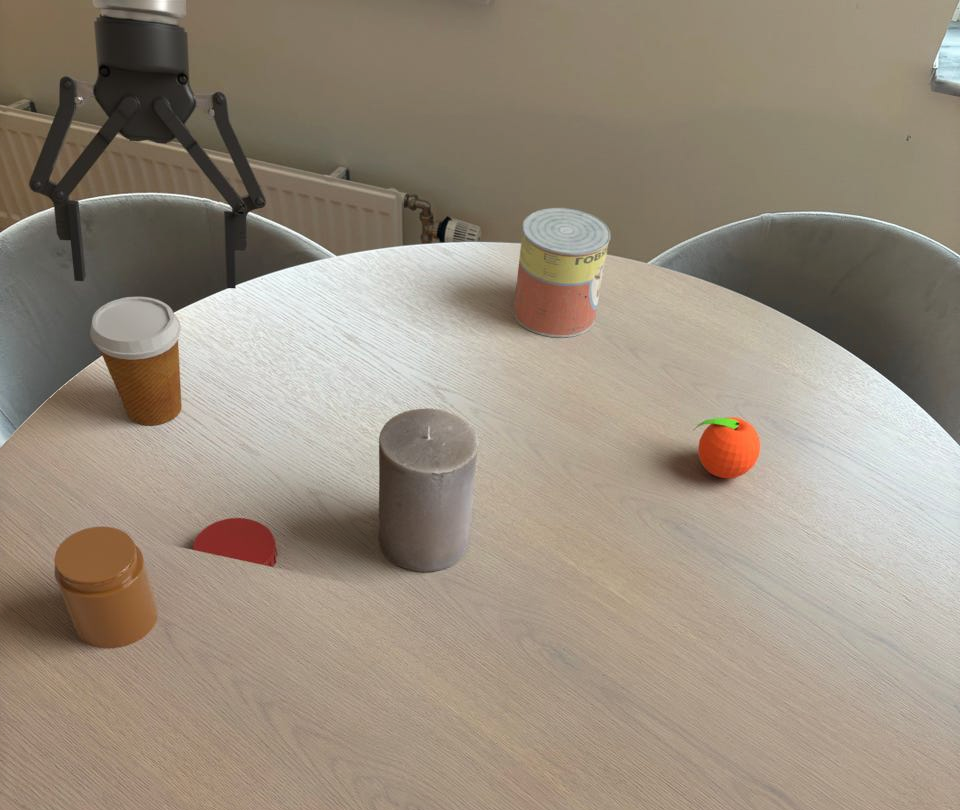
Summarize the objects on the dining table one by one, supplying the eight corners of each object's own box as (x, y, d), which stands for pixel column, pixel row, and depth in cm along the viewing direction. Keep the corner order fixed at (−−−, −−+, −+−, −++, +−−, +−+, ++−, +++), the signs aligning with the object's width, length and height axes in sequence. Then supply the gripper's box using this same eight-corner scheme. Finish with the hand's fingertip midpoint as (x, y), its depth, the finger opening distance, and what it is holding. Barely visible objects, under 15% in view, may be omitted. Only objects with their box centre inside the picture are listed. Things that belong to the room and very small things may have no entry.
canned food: (588, 344, 130) (603, 260, 120) (505, 328, 131) (513, 243, 122) (601, 299, 137) (616, 216, 128) (522, 284, 138) (531, 201, 129)
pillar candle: (364, 523, 106) (361, 410, 94) (446, 499, 109) (452, 387, 97) (402, 584, 101) (403, 473, 89) (486, 557, 104) (498, 446, 92)
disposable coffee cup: (179, 440, 112) (159, 350, 103) (98, 427, 113) (72, 336, 103) (207, 390, 118) (191, 301, 109) (130, 378, 119) (108, 288, 109)
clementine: (677, 479, 114) (692, 430, 108) (689, 443, 118) (703, 394, 113) (745, 497, 113) (763, 449, 107) (754, 460, 117) (772, 412, 111)
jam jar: (64, 651, 92) (33, 575, 84) (101, 593, 97) (75, 515, 89) (140, 668, 92) (116, 593, 84) (174, 609, 96) (154, 532, 88)
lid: (258, 595, 98) (256, 583, 97) (181, 576, 99) (178, 564, 98) (289, 540, 103) (287, 527, 102) (216, 522, 104) (213, 509, 103)
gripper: (-30, -3, 76) (8, 282, 87) (294, 35, 83) (294, 296, 93) (-15, 2, 83) (18, 268, 93) (286, 37, 89) (286, 281, 100)
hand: (157, 282), depth 93 cm, fingers open, 13 cm apart
